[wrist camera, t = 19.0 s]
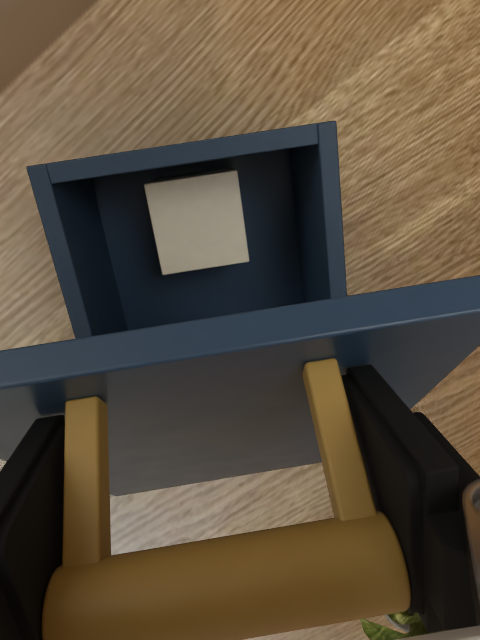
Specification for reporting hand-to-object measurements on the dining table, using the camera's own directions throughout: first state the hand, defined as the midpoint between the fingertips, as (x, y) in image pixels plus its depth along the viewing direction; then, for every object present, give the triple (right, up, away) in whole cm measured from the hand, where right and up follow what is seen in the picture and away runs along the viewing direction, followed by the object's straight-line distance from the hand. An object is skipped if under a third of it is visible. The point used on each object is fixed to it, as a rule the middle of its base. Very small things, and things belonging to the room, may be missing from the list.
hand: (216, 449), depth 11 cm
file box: (-1, +5, +18) cm, 19 cm away
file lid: (0, -1, +5) cm, 6 cm away
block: (-2, +9, +16) cm, 18 cm away
